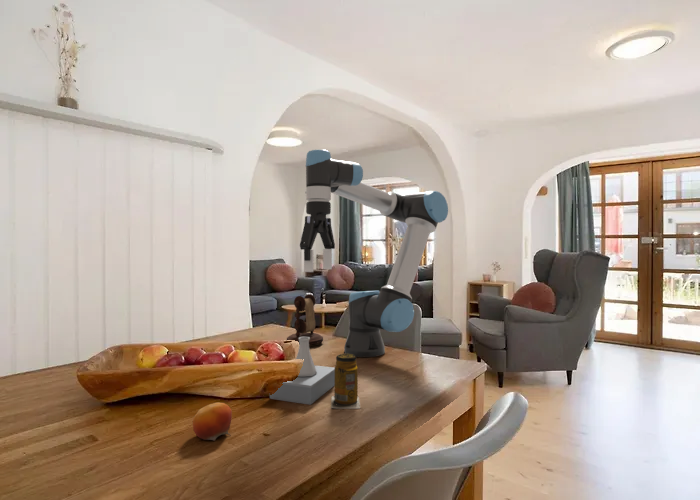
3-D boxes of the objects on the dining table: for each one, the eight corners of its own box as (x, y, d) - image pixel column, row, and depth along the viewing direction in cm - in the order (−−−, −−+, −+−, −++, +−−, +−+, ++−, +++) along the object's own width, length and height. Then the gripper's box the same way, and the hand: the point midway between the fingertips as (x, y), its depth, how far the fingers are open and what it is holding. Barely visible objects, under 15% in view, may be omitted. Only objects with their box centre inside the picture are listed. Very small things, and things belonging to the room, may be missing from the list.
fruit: (216, 442, 86) (202, 404, 88) (194, 454, 90) (181, 417, 92) (246, 427, 93) (232, 392, 95) (224, 439, 96) (212, 405, 98)
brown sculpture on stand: (308, 350, 165) (308, 298, 164) (279, 345, 172) (278, 295, 172) (330, 342, 177) (330, 294, 177) (301, 338, 185) (301, 292, 185)
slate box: (297, 379, 129) (297, 363, 129) (336, 384, 125) (336, 367, 125) (268, 398, 114) (268, 380, 114) (311, 405, 109) (311, 385, 109)
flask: (314, 378, 115) (314, 341, 115) (288, 377, 116) (288, 340, 116) (319, 370, 122) (319, 335, 122) (294, 369, 123) (293, 334, 123)
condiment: (358, 396, 115) (358, 352, 115) (360, 409, 107) (360, 361, 107) (331, 397, 115) (331, 352, 115) (331, 409, 107) (331, 361, 106)
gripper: (324, 205, 145) (324, 267, 145) (287, 198, 122) (287, 272, 122) (344, 204, 142) (344, 268, 143) (311, 197, 119) (311, 273, 119)
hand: (318, 270), depth 132 cm, fingers open, 13 cm apart
